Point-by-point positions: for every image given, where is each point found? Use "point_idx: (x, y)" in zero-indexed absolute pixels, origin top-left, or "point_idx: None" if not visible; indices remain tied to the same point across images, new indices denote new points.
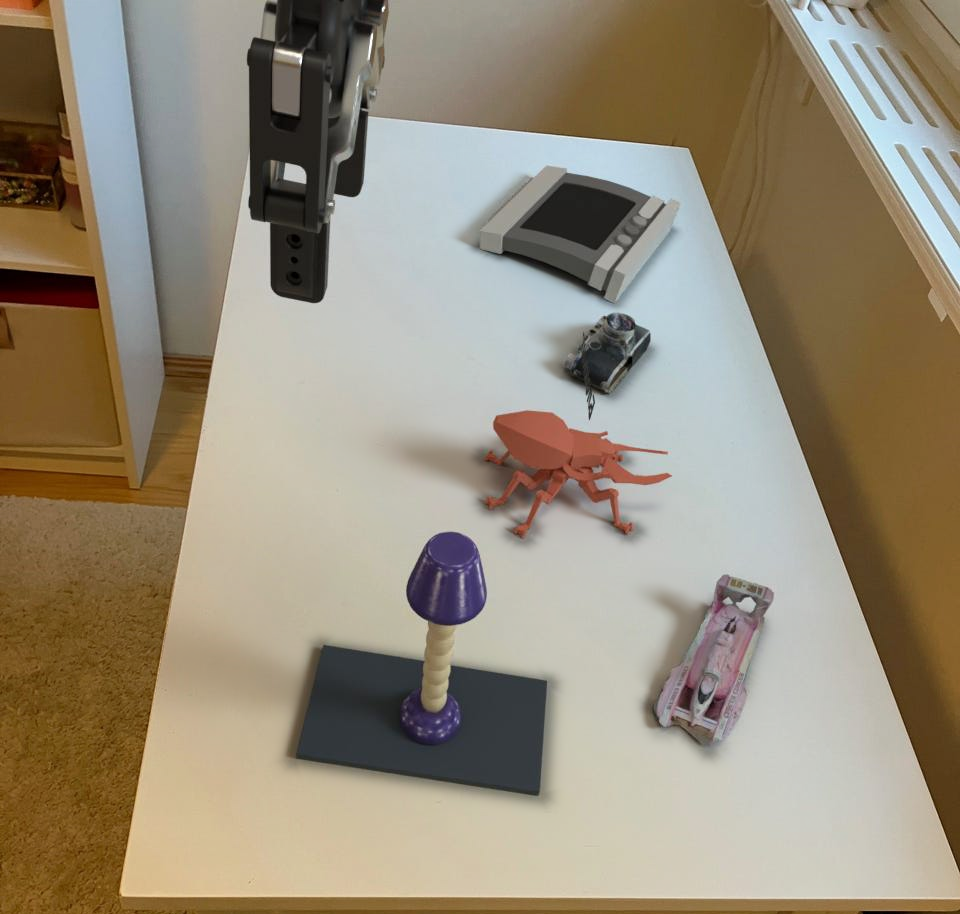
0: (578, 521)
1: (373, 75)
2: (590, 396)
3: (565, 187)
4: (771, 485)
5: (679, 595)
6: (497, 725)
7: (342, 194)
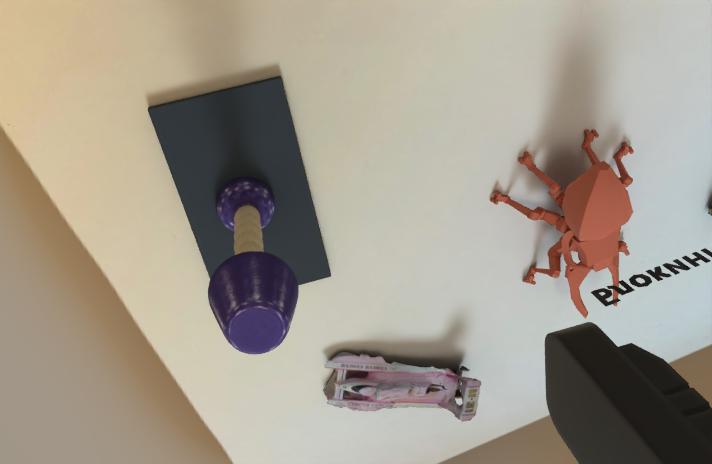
0: (527, 237)
1: None
2: (621, 291)
3: None
4: None
5: (467, 334)
6: None
7: (547, 383)
